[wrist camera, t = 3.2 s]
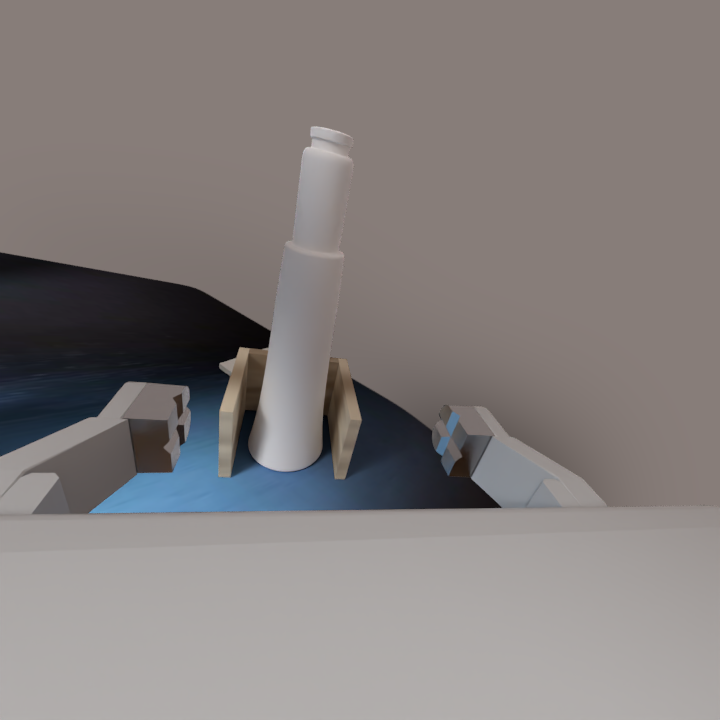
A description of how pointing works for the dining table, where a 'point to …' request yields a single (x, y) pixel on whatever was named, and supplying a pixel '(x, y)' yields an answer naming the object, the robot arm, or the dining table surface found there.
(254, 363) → the beech cradle
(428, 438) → the dining table surface
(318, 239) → the cosmetic bottle
